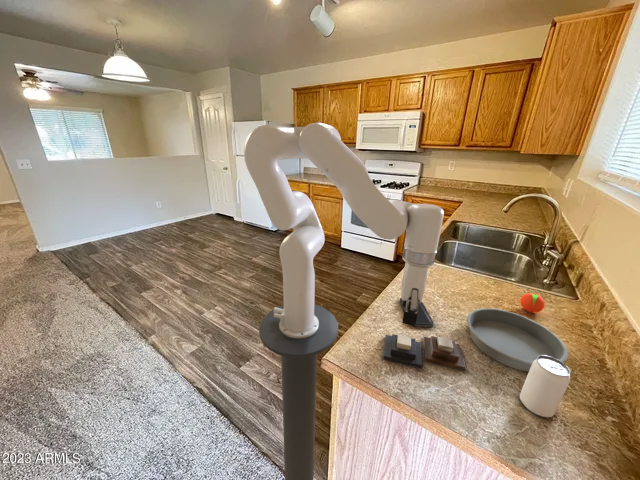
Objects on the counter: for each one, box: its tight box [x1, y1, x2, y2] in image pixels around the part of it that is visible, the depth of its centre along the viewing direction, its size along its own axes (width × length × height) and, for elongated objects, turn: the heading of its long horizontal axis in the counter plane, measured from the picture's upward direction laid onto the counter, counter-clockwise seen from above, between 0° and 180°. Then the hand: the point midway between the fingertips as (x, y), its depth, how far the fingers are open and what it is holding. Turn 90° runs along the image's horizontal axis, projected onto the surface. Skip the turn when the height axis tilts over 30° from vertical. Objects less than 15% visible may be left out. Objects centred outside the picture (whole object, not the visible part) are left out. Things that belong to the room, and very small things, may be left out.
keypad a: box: [382, 333, 423, 369], centre depth 75 cm, size 10×9×3 cm
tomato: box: [519, 292, 546, 314], centre depth 95 cm, size 8×7×7 cm
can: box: [519, 355, 572, 418], centre depth 59 cm, size 6×6×12 cm
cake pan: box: [466, 307, 569, 373], centre depth 79 cm, size 25×25×4 cm
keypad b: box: [422, 335, 466, 371], centre depth 75 cm, size 10×9×3 cm
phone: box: [399, 297, 434, 328], centre depth 93 cm, size 8×1×15 cm
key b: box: [437, 335, 453, 352], centre depth 74 cm, size 4×4×2 cm
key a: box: [397, 334, 412, 351], centre depth 74 cm, size 4×4×2 cm
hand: (408, 315), depth 71 cm, fingers open, 6 cm apart
